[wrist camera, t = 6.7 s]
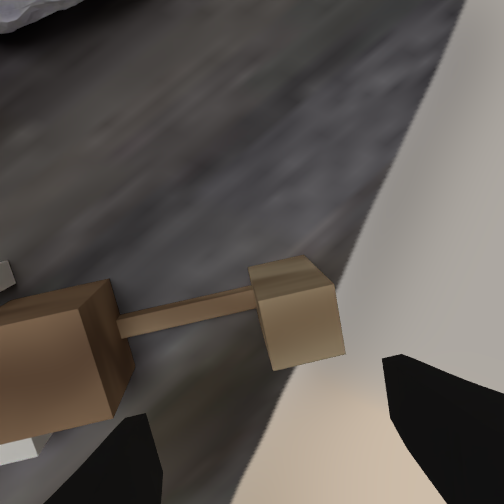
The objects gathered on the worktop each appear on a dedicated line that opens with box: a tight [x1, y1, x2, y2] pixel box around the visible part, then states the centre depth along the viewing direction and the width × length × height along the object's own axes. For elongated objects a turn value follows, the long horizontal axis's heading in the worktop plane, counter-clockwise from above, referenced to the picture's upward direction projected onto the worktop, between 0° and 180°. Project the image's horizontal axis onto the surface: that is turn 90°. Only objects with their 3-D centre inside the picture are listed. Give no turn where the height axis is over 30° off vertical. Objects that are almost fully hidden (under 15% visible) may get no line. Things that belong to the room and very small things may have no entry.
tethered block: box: [0, 255, 346, 445], centre depth 18 cm, size 5×15×6 cm, turn 102°
